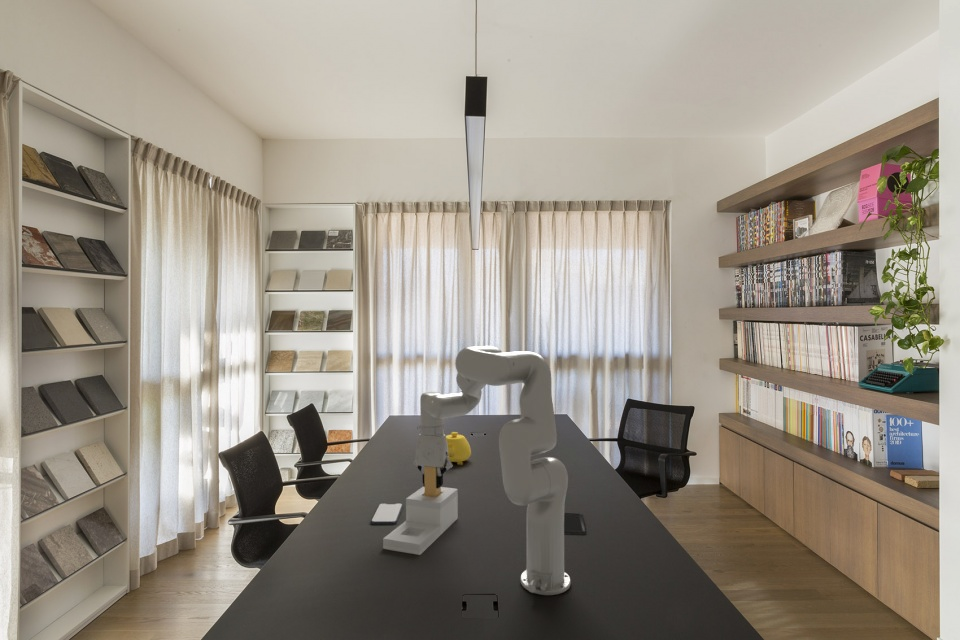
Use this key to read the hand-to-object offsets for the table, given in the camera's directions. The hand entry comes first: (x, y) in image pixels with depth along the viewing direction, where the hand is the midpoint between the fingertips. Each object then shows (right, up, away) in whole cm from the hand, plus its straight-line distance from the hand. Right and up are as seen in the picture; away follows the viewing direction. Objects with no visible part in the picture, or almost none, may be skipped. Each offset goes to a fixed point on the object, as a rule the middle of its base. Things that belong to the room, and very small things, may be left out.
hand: (432, 485), depth 167 cm
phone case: (-16, -13, +8) cm, 23 cm away
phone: (+45, -13, 0) cm, 47 cm away
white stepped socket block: (-2, -13, -6) cm, 14 cm away
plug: (0, -3, 0) cm, 3 cm away
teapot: (+3, -12, +70) cm, 71 cm away
